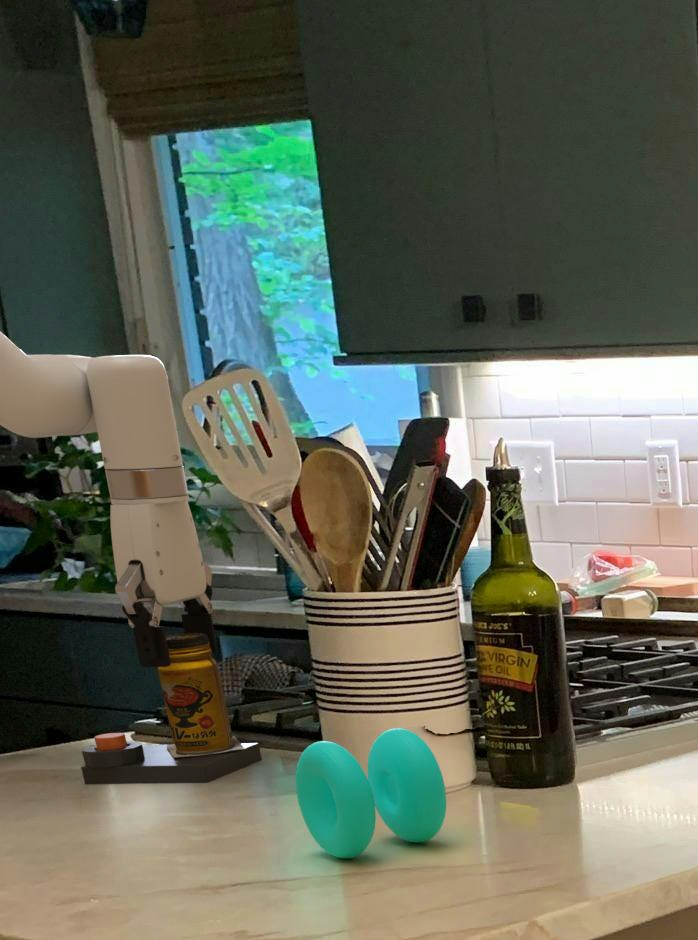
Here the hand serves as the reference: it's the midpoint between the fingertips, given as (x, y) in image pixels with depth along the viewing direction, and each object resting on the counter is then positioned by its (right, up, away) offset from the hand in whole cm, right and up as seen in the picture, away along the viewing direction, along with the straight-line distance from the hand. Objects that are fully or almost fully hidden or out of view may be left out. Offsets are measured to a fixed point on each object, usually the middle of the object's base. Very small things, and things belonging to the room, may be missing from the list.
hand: (180, 659), depth 204 cm
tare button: (-7, -10, -1) cm, 12 cm away
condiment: (+1, -9, +5) cm, 10 cm away
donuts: (+32, -27, -34) cm, 54 cm away
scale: (-2, -11, +3) cm, 12 cm away
